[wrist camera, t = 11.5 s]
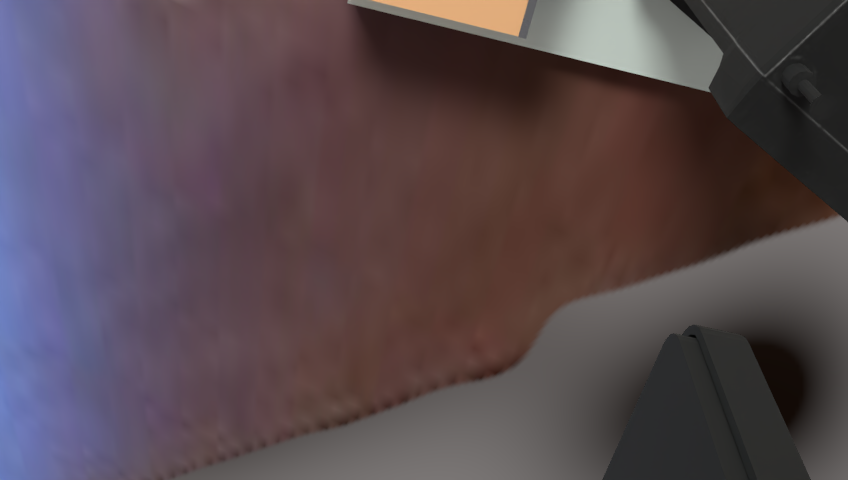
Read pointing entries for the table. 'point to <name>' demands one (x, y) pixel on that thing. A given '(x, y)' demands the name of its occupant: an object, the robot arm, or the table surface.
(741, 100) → the portable radio
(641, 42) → the vise bed
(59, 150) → the table surface
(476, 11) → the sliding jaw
